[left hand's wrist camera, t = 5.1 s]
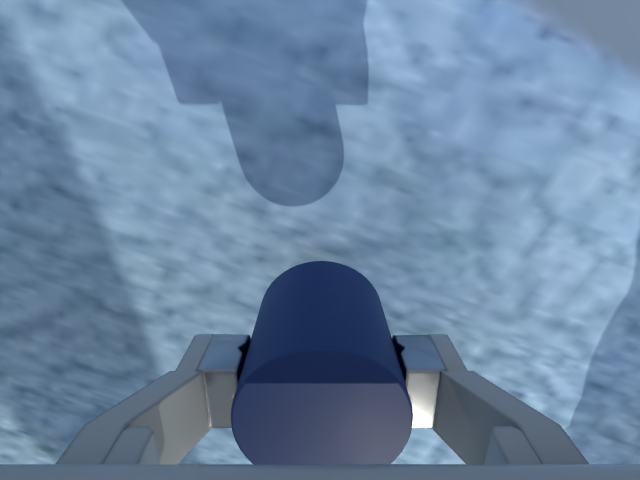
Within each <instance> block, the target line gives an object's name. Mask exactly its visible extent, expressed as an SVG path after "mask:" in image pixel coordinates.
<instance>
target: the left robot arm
mask: <svg viewBox="0 0 640 480" xmlns="http://www.w3.org/2000/svg"><path fill="white" fill-rule="evenodd" d="M250 341H251V338H250V336H249V335H228V334H215V335H214V334H197V335H195V336H194V338H193V340H192V341H191V343H190V345H189V347H188V349H187V351H186V352H185V354H184V356H183V358H182V360H181V362H180V363H179V365H178V367H177V369H176V371H170V372H168V373H166V374H165V375H163V376H162V377H160V378H158V379H157V380H155V381H154V382H152V383H150V384H149V385H147V386H146V387H144V388H142V389H141V390H139V391H138V392H136V393H134V394H133V395H131V396H130V397H128V398H126V399H125V400H123V401H122V402H120V403H118V404H117V405H115V406H114V407H112V408H110V409H109V410H107V411H106V412H104V413H102V414H101V415H99V416H98V417H96V418H94V419H93V420H91V421H90V422H88V423H86V424H85V425H84V426H83V427H82V429H81V430H80V432H79V433H78V434H77V436H76V437H75V438H74V440H73V441H72V442H71V444H70V445H69V446H68V448H67V449H66V450H65V452H64V453H63V455H62V456H61V457H60V459H59V460H58V461H57V463H56V464H0V480H640V464H589V463H588V462H587V461H586V459H585V458H584V457H583V455H582V454H581V453H580V451H579V450H578V449H577V447H576V446H575V444H574V443H573V442H572V440H571V439H570V438H569V436H568V435H567V434H566V432H565V431H564V430H563V428H562V427H561V426H560V425H559V424H557V423H556V422H554V421H553V420H551V419H549V418H548V417H546V416H545V415H543V414H541V413H540V412H538V411H536V410H535V409H533V408H532V407H530V406H528V405H527V404H525V403H524V402H522V401H520V400H519V399H517V398H516V397H514V396H512V395H511V394H509V393H508V392H506V391H504V390H503V389H501V388H500V387H498V386H496V385H495V384H493V383H491V382H490V381H488V380H487V379H485V378H483V377H482V376H480V375H479V374H477V373H475V372H474V371H468V370H467V368H466V367H465V365H464V363H463V361H462V360H461V358H460V356H459V354H458V353H457V351H456V349H455V347H454V346H453V344H452V342H451V340H450V338H449V337H448V335H446V334H428V335H393V337H392V341H393V345H394V348H395V351H396V354H397V358H398V361H399V364H400V368H401V371H402V374H403V377H404V381H405V384H406V387H407V391H408V394H409V397H410V400H411V404H412V410H413V425H412V428H434V429H433V430H434V431H435V432H436V433H437V434H438V435H439V436H440V437H441V438H442V439H443V440H444V442H445V443H446V444H447V445H448V446H449V447H450V448H451V449H452V450H453V451H454V452H455V453H456V454H457V455H458V456H459V457H460V458H461V459H462V460H463V461H464V462H465V463H466V464H311V465H177V464H178V463H179V462H180V461H181V460H182V459H183V458H184V457H185V456H186V454H187V453H188V452H189V451H190V450H191V449H192V448H193V447H194V446H195V445H196V444H197V443H198V442H199V441H200V440H201V439H202V438H203V437H204V436H205V435H206V434H207V432H208V431H209V430H210V429H209V428H232V426H231V408H232V402H233V399H234V396H235V392H236V389H237V385H238V382H239V379H240V375H241V372H242V368H243V365H244V362H245V358H246V355H247V351H248V348H249V344H250Z"/></svg>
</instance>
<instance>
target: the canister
mask: <svg viewBox="0 0 640 480" xmlns="http://www.w3.org/2000/svg"><path fill="white" fill-rule="evenodd" d="M412 425H413V410H412V404H411V400H410V397H409V394H408V391H407V387H406V384H405V381H404V377H403V374H402V371H401V368H400V364H399V361H398V358H397V354H396V351H395V348H394V345H393V341H392V338H391V335H390V331H389V328H388V325H387V322H386V318H385V315H384V312H383V308H382V305H381V302H380V299H379V296H378V294H377V292H376V290H375V288H374V287H373V285H372V284H371V283H370V282H369V281H368V280H367V279H366V278H365V277H364V276H363V275H362V274H360V273H359V272H357V271H356V270H354V269H352V268H350V267H348V266H345V265H342V264H339V263H334V262H327V261H314V262H308V263H304V264H300V265H297V266H295V267H293V268H290V269H289V270H287V271H285V272H284V273H282V274H281V275H280V276H279V277H277V278H276V279H275V280H274V281H273V282H272V284H271V285H270V286H269V288H268V289H267V291H266V293H265V295H264V298H263V300H262V304H261V307H260V310H259V314H258V317H257V321H256V324H255V327H254V331H253V334H252V338H251V341H250V344H249V348H248V351H247V355H246V358H245V362H244V365H243V368H242V372H241V375H240V379H239V382H238V385H237V389H236V392H235V396H234V399H233V402H232V408H231V426H232V431H233V434H234V437H235V440H236V442H237V444H238V446H239V448H240V450H241V451H242V452H243V454H244V455H245V456H246V457H247V458H248V459H249V460H250V462H251V463H252V464H254V465H311V464H391V463H392V462H393V461H394V460H395V459H396V458H397V457H398V456H399V454H400V453H401V452H402V451H403V449H404V447H405V445H406V444H407V442H408V439H409V436H410V434H411V429H412Z"/></svg>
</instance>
